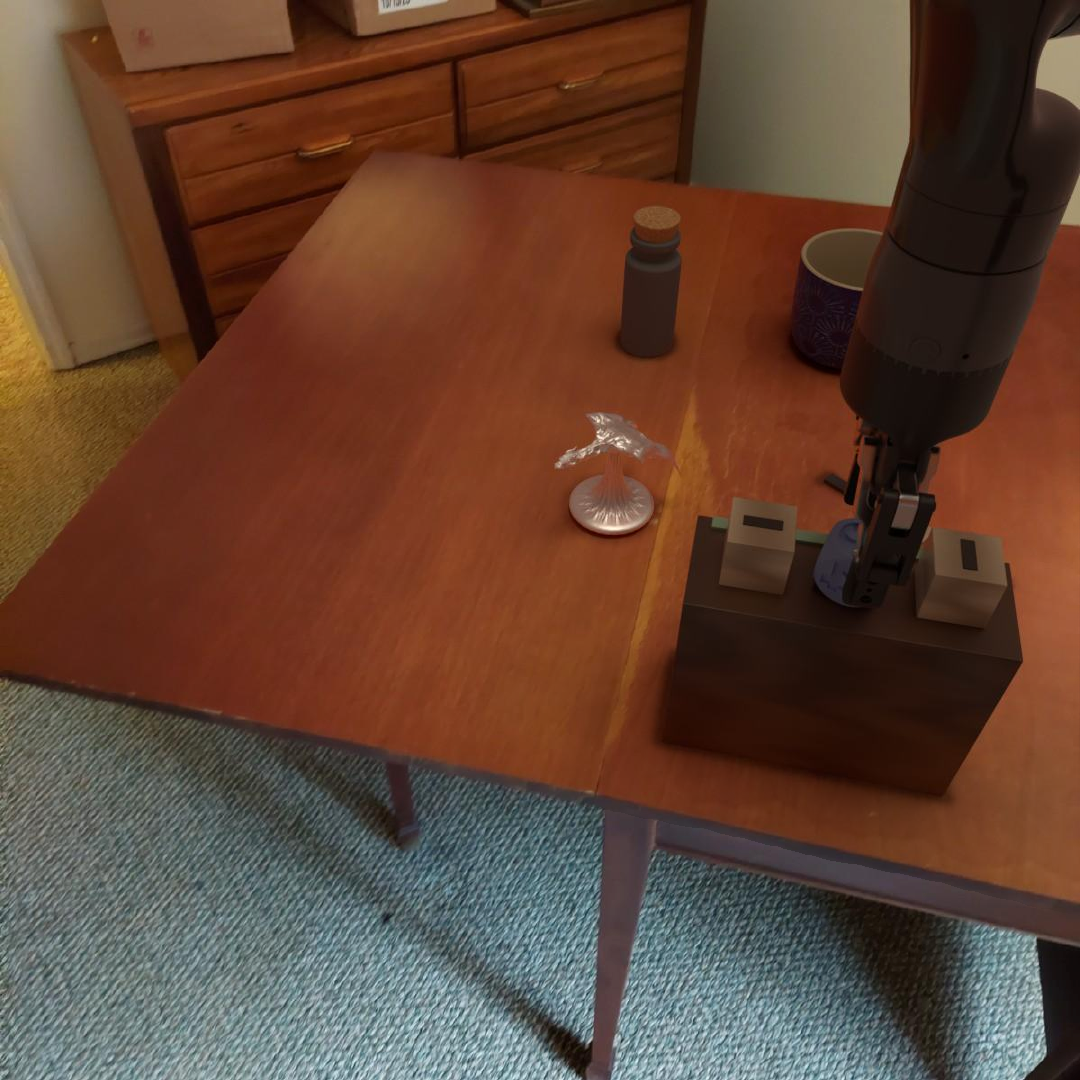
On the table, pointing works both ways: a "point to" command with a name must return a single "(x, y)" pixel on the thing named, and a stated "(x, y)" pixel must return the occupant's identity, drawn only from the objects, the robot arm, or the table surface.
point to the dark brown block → (839, 654)
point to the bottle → (651, 283)
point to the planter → (830, 292)
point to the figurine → (613, 477)
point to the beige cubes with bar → (840, 486)
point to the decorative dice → (836, 559)
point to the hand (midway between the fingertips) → (860, 550)
